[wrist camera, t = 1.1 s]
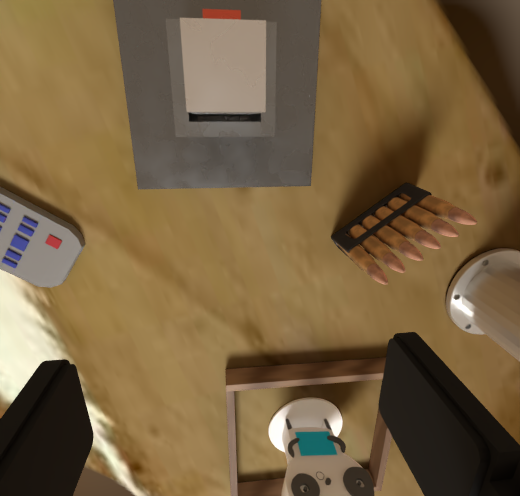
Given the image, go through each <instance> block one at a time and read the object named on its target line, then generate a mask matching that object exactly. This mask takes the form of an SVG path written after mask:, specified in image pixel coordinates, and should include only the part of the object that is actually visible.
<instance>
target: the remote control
mask: <svg viewBox="0 0 520 496" xmlns="http://www.w3.org/2000/svg"><path fill="white" fill-rule="evenodd" d="M61 242H62V243H61ZM60 244H61V245H60ZM84 246H85V242H84V239H83V236H82V234H81V233H80V232H79V231H78V230H77V229H76V228H75V227H74V226H73V225H71V224H69V223H68V222H66V221H64V220H62V219H60V218H58V217H56V216H54V215H53V214H51V213H49V212H47V211H45V210H43V209H41V208H40V207H38V206H36V205H34V204H32V203H30V202H28V201H26V200H25V199H23V198H21V197H19V196H17V195H15V194H13V193H11V192H10V191H8V190H6V189H4V188H2V187H0V269H1V270H4V271H6V272H8V273H10V274H12V275H15V276H17V277H19V278H21V279H23V280H25V281H28V282H30V283H32V284H34V285H36V286H39V287H54V286H57V285H60V284H62V283H63V282H64V281H65V280H66V278H67V276H68V274H69V273H70V271H71V269H72V267H73V266H74V264H75V262H76V260H77V258H78V257H79V255H80V253H81V251H82V250H83V248H84Z"/></svg>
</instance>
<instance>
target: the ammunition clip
mask: <svg viewBox="0 0 520 496" xmlns="http://www.w3.org/2000/svg"><path fill="white" fill-rule="evenodd" d="M438 217H440V218H446V219H449V220H452V221H455V222H458V223H461V224H468V225H473V224H477V221H476V219H475V218H474V217H473V216H472V215H471V214H469V213H467V212H466V211H464V210H461V209H459V208H457V207H455V206H453V205H452V204H451V203H449V202H447V201H445V200H442V199H439V198H437V197H434V196H431V193H430V192H428V191H425V190H423V189H421V188H418V187H416V186H414V185H412V184H409V183H405V184H403V185H402V186H400V187H399V188H398V189H396V190H395V191H394V192H392V193H391V194H389V195H388V196H387V197H385V198H384V199H382V200H381V201H380V202H378V203H377V204H375V205H374V206H373V207H371V208H370V209H368V210H367V211H366V212H364V213H363V214H361V215H360V216H359V217H357V218H356V219H355V220H353V221H352V222H350V223H349V224H348V225H346V226H345V227H343V228H342V229H341V230H339V231H338V232H336V233H335V234H334V235H332V236H331V238H332V240H333V241H334V243H335V244H336V246H337V247H338V248H339V249H340V250H341V251H342V252H343V253H344V254H346V255H347V256H348V257H349V258H350V259H351V260H352V261H353V262H354V263H355V264H356V265H357V266H358V267H359V268H360V269H361V270H363V271H365V272H366V273H367V274H368V275H370V276H371V277H372V278H373V279H374V280H376V281H377V282H379V283H382V284H388V280H387V277H386V275H385V273H384V272H383V270H382V269H381V268H380V267H379V266H378V265H377V264H376V263H375V261H374V259H373V258H372V257H371V256H370V255H369V254H371V255H372V256H373V257H375V258H376V259H377V260H380V261H381V262H383V263H384V264H386V265H387V266H388V267H390V268H391V269H393V270H395V271H398V272H402V273H403V272H405V267H404V265H403V263H402V262H401V261H400V260H399V259H398V258H397V257H396V256H395V255H394V254H393V253H392V252H391V251H390V249H389V248H388V247H387V246H386V245H388V246H389V247H390V248H392V249H394V250H397V251H399V252H400V253H402V254H404V255H405V256H407V257H409V258H411V259H414V260H418V261H421V260H423V256H422V254H421V253H420V251H419V250H418V249H417V248H416V247H415V246H414V245H412V244H411V243H410V242H409V241H407V240H406V239H405V238H404V237H406V238H408V239H411V240H414V241H416V242H418V243H420V244H422V245H424V246H426V247H429V248H434V249H439V248H441V246H440V243H439V242H438V241H437V240H436V238H435V237H433V236H432V235H431V234H429V233H428V232H426V231H425V230H423V229H422V228H421V227H423V228H425V229H430V230H432V231H434V232H437V233H439V234H442V235H445V236H450V237H457V236H459V234H458V232H457V230H456V229H455V228H454V227H453V226H452V225H450V224H449V223H447V222H445V221H443V220H442V219H440V218H438ZM372 234H373V235H374V236H373V235H372ZM376 237H377V238H378V239H377V238H376ZM384 243H385V244H386V245H385V244H384ZM358 244H360V245H361V246H362V247H363V248H364V249H365V250H364V249H363V248H362V247H361V246H360V245H358Z"/></svg>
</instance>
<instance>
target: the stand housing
mask: <svg viewBox="0 0 520 496" xmlns="http://www.w3.org/2000/svg"><path fill="white" fill-rule="evenodd" d="M113 2H114V9H115V17H116V24H117V32H118V40H119V47H120V55H121V62H122V70H123V77H124V85H125V93H126V100H127V108H128V115H129V123H130V131H131V138H132V146H133V153H134V161H135V168H136V176H137V184H138V189H176V188H227V187H279V186H311V173H312V155H313V137H314V119H315V102H316V84H317V66H318V48H319V30H320V13H321V0H113ZM180 18H207V19H239V20H266V112H263V113H257V114H252V115H249V116H200V115H199V114H194V113H190V112H187V111H186V98H185V84H184V70H183V57H182V43H181V29H180Z"/></svg>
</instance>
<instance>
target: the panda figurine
mask: <svg viewBox="0 0 520 496" xmlns="http://www.w3.org/2000/svg"><path fill="white" fill-rule="evenodd" d="M341 428H342V417H341V414H340V412H339V410H338V408H337V407H336V406H335V405H334V404H333V403H331V402H329V401H327V400H325V399H321V398H315V397H307V398H301V399H297V400H294V401H292V402H289V403H287V404H286V405H284V406H283V407H281V408H280V409H279V410H278V411H277V412H276V413H275V414H274V415H273V417H272V419H271V421H270V424H269V437H270V440H271V442H272V443H273V445H274V446H275V447H276V448H278V449H279V450H281V451H283V452H285V453H286V457H287V462H288V466H287V470H286V474H285V479H284V484H283V488H282V494H281V496H374V486H373V482H372V479H371V477H370V475H369V473H368V472H367V471H366V470H365V469H364V468H362V466H361V465H360V464H358V463H357V462H356V461H355V460H354V459H352V458H351V457H349V456H348V455H346V454H344V452H345V448H346V446H345V443H344V442H343V441H342V440H341V439H339V438H338V437H337V436H338V435H339V433H340V431H341ZM338 444H339V445H340V447H341V448H340V447H339V445H338Z"/></svg>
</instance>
